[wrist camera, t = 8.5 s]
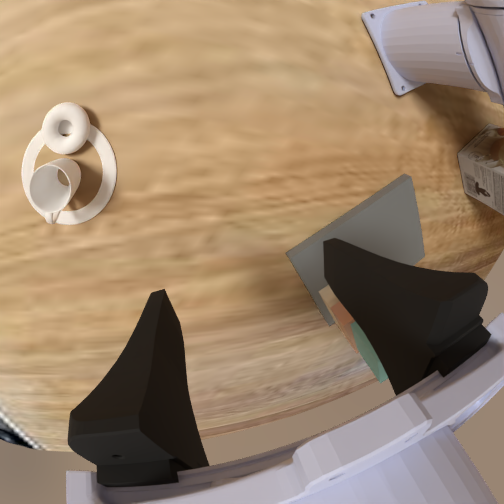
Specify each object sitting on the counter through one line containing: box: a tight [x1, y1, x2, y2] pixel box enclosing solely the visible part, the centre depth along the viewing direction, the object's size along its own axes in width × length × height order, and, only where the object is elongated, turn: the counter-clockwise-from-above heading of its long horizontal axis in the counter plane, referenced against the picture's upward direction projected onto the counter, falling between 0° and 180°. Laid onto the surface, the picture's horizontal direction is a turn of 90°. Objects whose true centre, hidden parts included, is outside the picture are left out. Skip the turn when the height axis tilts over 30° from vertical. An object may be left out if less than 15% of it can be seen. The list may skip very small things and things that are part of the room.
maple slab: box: [318, 285, 345, 336], centre depth 27 cm, size 6×6×2 cm
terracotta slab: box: [331, 301, 359, 353], centre depth 25 cm, size 6×6×2 cm
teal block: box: [350, 321, 388, 383], centre depth 23 cm, size 4×4×4 cm
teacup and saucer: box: [22, 102, 117, 225], centre depth 15 cm, size 9×8×4 cm
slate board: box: [286, 174, 425, 326], centre depth 27 cm, size 14×11×1 cm
